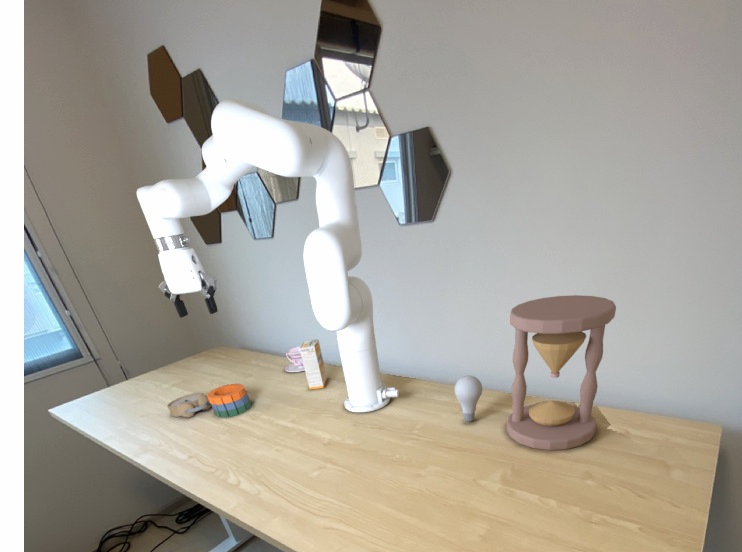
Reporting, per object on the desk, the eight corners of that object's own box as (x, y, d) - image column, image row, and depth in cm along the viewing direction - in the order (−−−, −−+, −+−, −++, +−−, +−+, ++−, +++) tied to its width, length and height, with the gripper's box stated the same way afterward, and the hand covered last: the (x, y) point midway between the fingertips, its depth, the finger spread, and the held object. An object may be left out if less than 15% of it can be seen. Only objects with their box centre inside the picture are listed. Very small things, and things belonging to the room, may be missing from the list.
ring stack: (257, 401, 126) (253, 388, 124) (240, 416, 118) (236, 403, 115) (227, 402, 129) (222, 390, 126) (209, 418, 120) (203, 405, 118)
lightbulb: (485, 416, 97) (485, 371, 90) (478, 428, 92) (478, 382, 86) (460, 414, 99) (458, 371, 93) (452, 426, 95) (450, 381, 89)
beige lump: (194, 391, 133) (213, 390, 122) (201, 405, 135) (221, 406, 125) (161, 405, 126) (178, 405, 116) (169, 419, 129) (187, 421, 118)
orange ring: (252, 388, 124) (249, 382, 123) (235, 403, 115) (233, 397, 114) (221, 390, 126) (218, 384, 125) (203, 405, 118) (200, 399, 117)
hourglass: (600, 415, 89) (621, 293, 75) (588, 456, 77) (610, 320, 63) (518, 408, 98) (523, 296, 84) (496, 444, 86) (498, 321, 72)
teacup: (322, 359, 151) (318, 343, 148) (311, 371, 142) (307, 354, 138) (292, 362, 154) (287, 345, 150) (280, 374, 144) (275, 356, 141)
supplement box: (324, 388, 127) (314, 346, 119) (309, 390, 127) (298, 348, 120) (327, 378, 133) (318, 338, 126) (313, 380, 134) (303, 340, 127)
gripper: (209, 238, 105) (232, 308, 115) (153, 247, 109) (180, 314, 119) (193, 241, 99) (219, 315, 109) (134, 251, 104) (164, 321, 113)
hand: (199, 314), depth 114 cm, fingers open, 9 cm apart
